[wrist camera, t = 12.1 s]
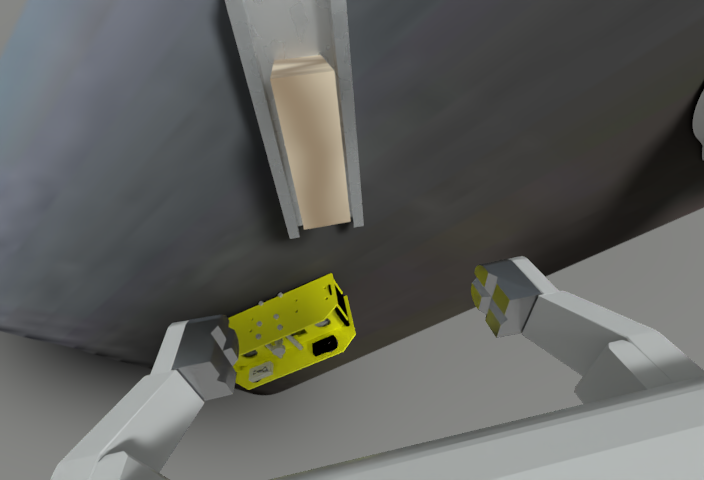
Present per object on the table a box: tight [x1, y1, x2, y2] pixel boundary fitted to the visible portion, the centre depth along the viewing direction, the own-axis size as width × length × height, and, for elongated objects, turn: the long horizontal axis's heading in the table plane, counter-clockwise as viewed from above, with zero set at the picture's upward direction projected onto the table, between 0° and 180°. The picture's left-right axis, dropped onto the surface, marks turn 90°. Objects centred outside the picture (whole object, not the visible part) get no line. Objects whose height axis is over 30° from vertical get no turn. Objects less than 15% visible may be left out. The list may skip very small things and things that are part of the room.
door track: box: [225, 0, 364, 239], centre depth 25 cm, size 8×20×3 cm, turn 5°
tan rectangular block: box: [270, 55, 351, 230], centre depth 22 cm, size 4×10×8 cm, turn 5°
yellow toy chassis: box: [228, 273, 356, 390], centre depth 36 cm, size 16×6×8 cm, turn 113°
